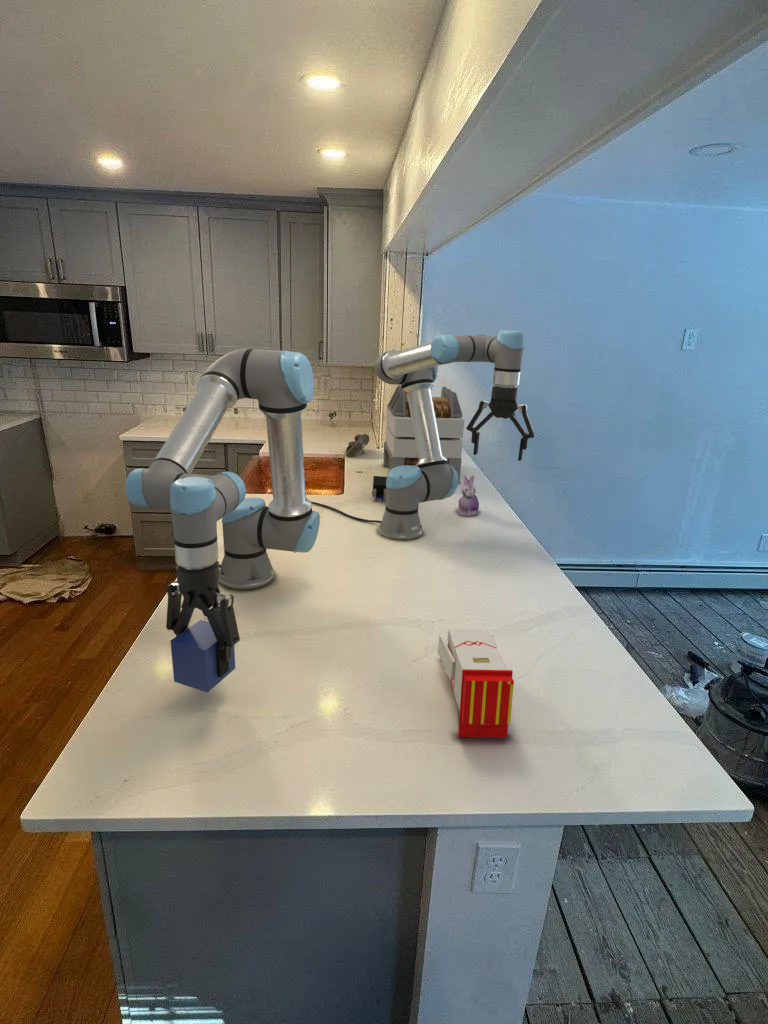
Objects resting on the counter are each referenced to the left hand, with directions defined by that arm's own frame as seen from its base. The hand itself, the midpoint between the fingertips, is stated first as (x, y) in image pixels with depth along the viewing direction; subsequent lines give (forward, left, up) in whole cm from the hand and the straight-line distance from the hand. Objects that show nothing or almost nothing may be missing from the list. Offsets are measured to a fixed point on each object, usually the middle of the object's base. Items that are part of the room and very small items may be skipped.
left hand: (204, 667), depth 111 cm
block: (0, 0, -2) cm, 2 cm away
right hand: (+46, +90, +27) cm, 104 cm away
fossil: (-36, +203, -7) cm, 207 cm away
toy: (+50, +19, -7) cm, 54 cm away
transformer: (+4, +179, -7) cm, 179 cm away
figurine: (+34, +130, -7) cm, 135 cm away
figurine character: (-4, +135, -7) cm, 135 cm away
